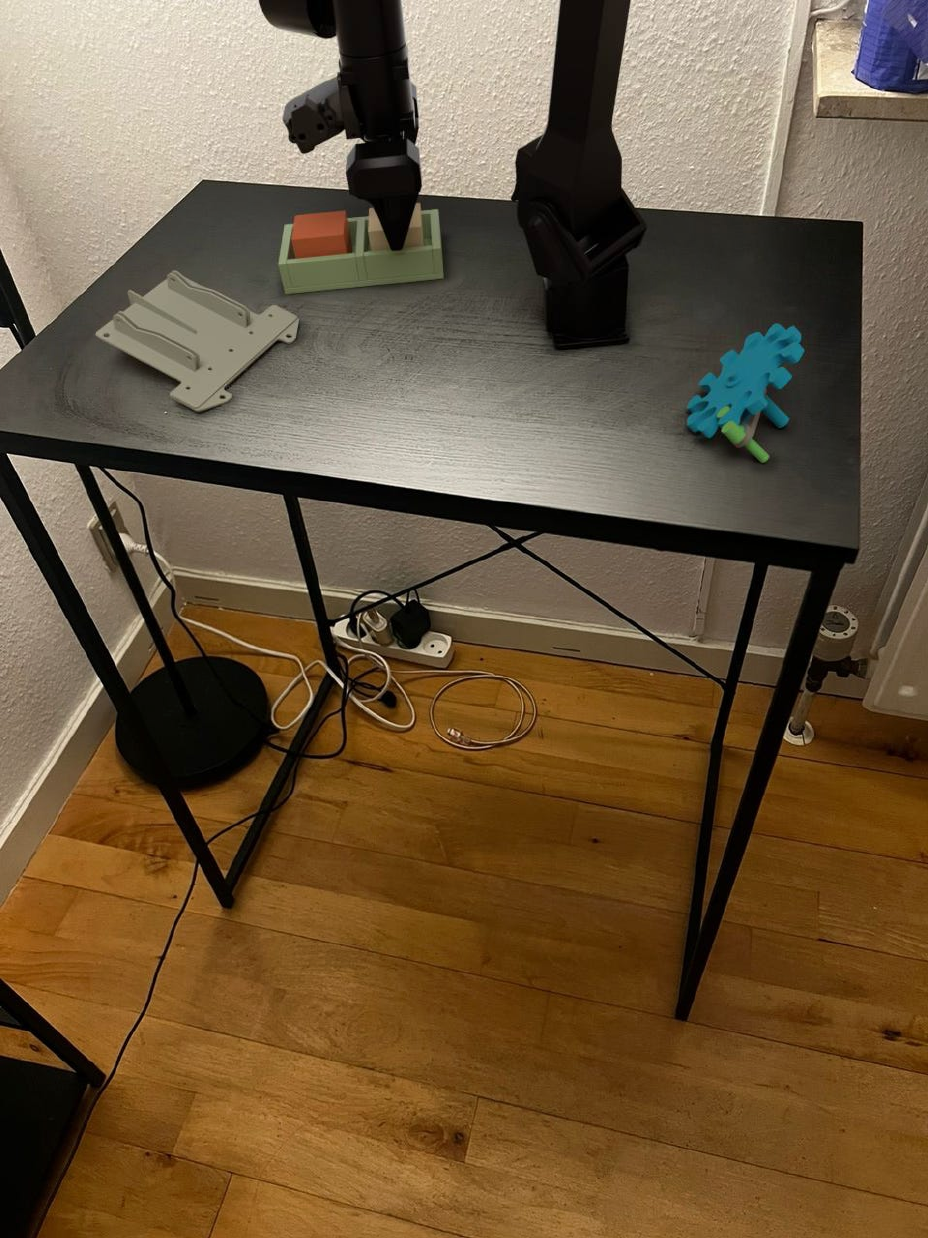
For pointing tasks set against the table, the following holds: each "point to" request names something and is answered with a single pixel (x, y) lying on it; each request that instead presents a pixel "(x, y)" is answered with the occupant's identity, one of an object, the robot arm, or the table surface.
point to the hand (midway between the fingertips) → (397, 226)
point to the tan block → (413, 236)
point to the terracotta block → (321, 235)
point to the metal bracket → (196, 337)
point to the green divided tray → (363, 261)
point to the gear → (746, 388)
